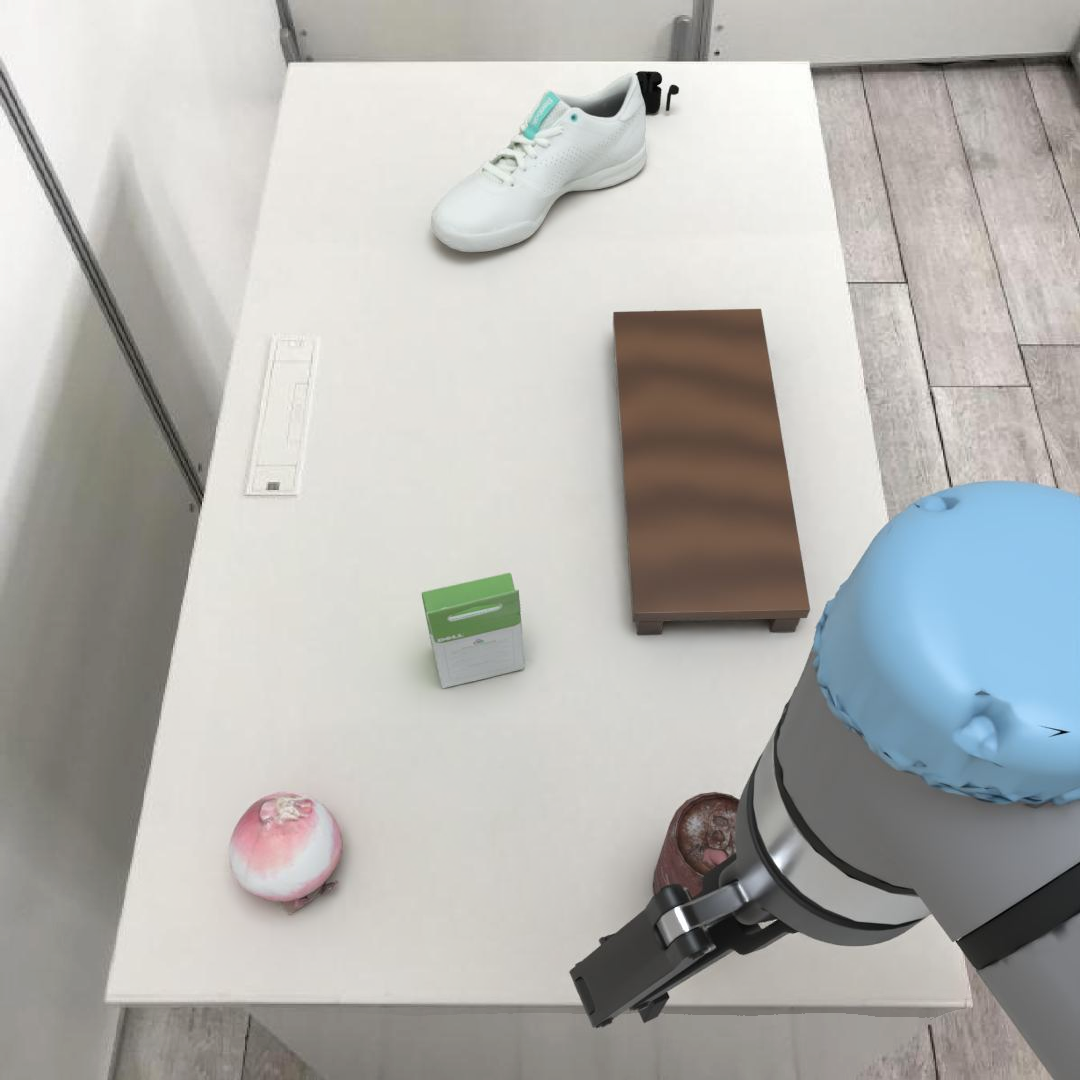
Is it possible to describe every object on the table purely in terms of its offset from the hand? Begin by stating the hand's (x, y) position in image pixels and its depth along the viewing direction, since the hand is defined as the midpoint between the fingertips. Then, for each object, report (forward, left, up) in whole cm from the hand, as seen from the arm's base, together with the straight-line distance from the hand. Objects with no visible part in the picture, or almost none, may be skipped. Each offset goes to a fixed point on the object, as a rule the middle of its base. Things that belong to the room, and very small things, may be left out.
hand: (758, 934), depth 54 cm
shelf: (+42, +14, -23) cm, 49 cm away
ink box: (+18, +25, -23) cm, 38 cm away
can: (+7, +3, -23) cm, 24 cm away
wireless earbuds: (+88, +35, -23) cm, 97 cm away
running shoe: (+70, +41, -23) cm, 84 cm away
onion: (-2, +31, -23) cm, 39 cm away
